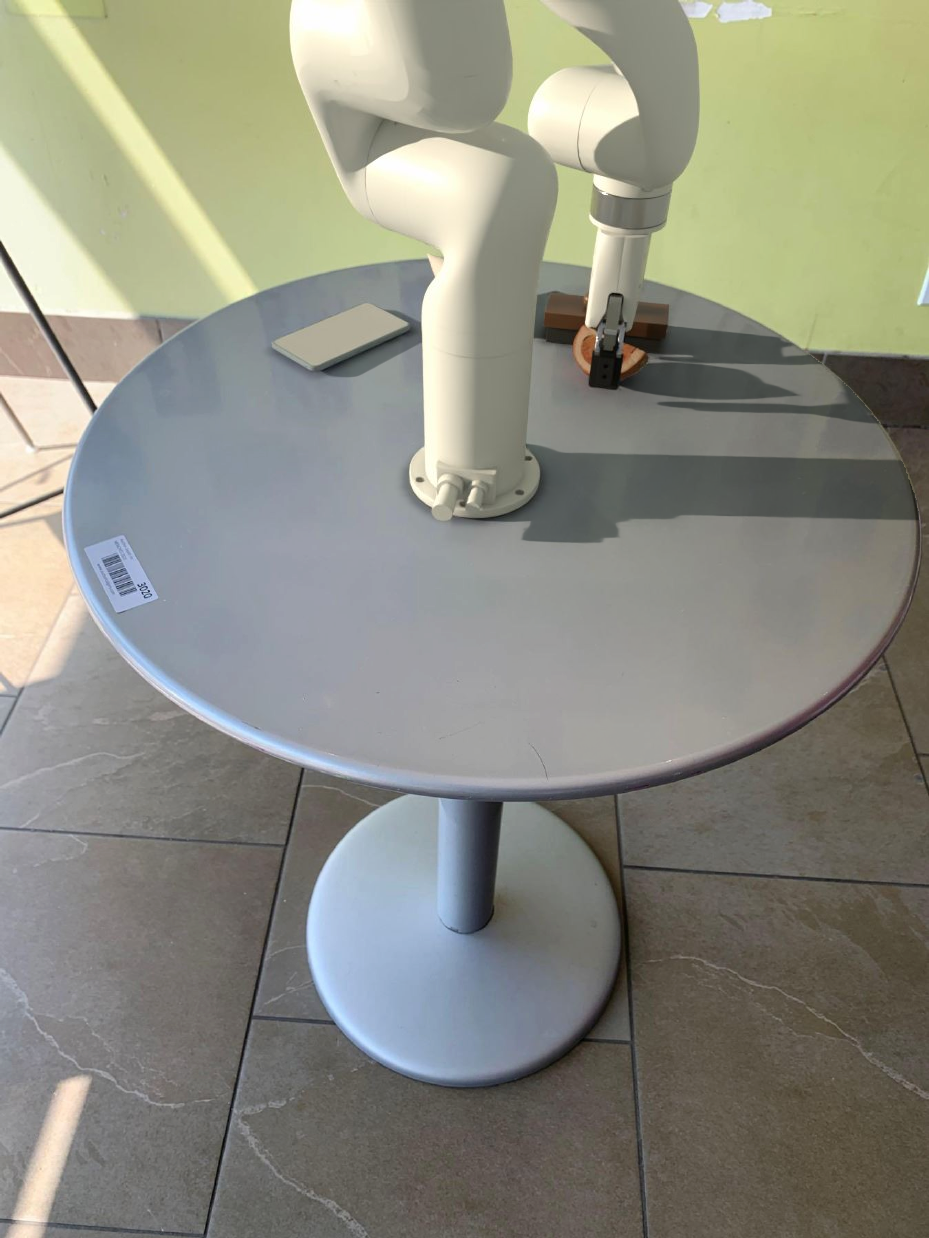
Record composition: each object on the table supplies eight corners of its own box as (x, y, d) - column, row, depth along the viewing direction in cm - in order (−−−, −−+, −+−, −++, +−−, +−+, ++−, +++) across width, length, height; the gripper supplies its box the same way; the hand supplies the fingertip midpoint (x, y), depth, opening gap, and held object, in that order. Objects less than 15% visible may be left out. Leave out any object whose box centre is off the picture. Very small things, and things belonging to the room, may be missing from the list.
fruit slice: (654, 380, 101) (662, 339, 97) (619, 405, 97) (626, 363, 94) (593, 354, 105) (598, 314, 101) (558, 377, 101) (562, 336, 97)
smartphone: (413, 324, 107) (314, 368, 100) (413, 331, 108) (314, 376, 100) (366, 300, 111) (267, 341, 104) (367, 307, 112) (269, 349, 104)
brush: (662, 355, 105) (670, 310, 101) (542, 342, 106) (545, 298, 102) (663, 334, 108) (671, 290, 104) (547, 322, 110) (551, 278, 106)
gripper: (598, 169, 94) (580, 323, 106) (581, 237, 82) (564, 402, 94) (671, 175, 93) (645, 330, 105) (665, 245, 81) (636, 410, 93)
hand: (606, 364), depth 99 cm, fingers open, 9 cm apart
